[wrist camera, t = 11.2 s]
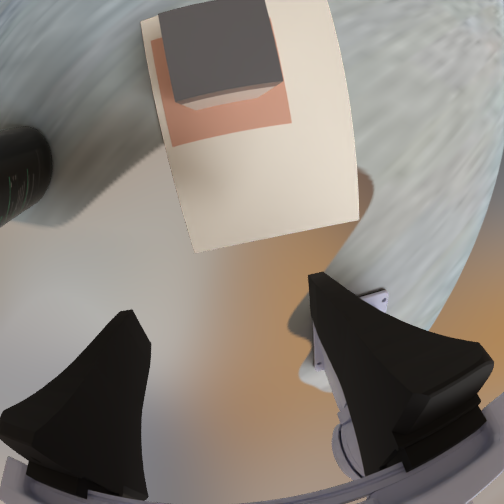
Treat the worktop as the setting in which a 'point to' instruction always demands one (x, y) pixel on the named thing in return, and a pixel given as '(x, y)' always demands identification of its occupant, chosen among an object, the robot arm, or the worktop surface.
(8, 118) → the worktop surface
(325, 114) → the paper sheet
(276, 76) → the grey rectangular block
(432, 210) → the worktop surface
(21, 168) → the supplement bottle
